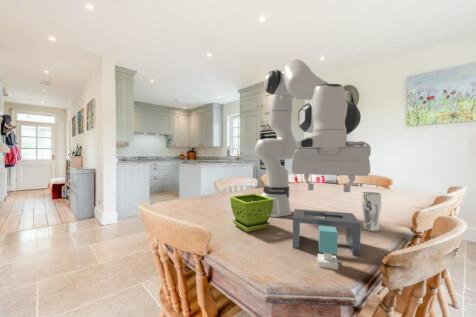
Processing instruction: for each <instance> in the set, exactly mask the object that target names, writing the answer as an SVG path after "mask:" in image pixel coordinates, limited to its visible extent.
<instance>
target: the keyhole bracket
mask: <svg viewBox="0 0 476 317" xmlns="http://www.w3.org/2000/svg"><path fill="white" fill-rule="evenodd" d="M301 224H307V225H308V224H309V225H318V226H329V227H341V228H345V242H346V243H347V246H348V248H349V250H350V253H351V254H352V256H357V257H361V222H360V221H359V220H358V219H357V217H356V216H355V215H354V213H352V212H339V211H328V210H327V211H326V210H325V211H324V210H314V209H299V208H294V210H293V216H292V249H300V238H301V237H300V236H301V232H300V231H301Z"/></svg>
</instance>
